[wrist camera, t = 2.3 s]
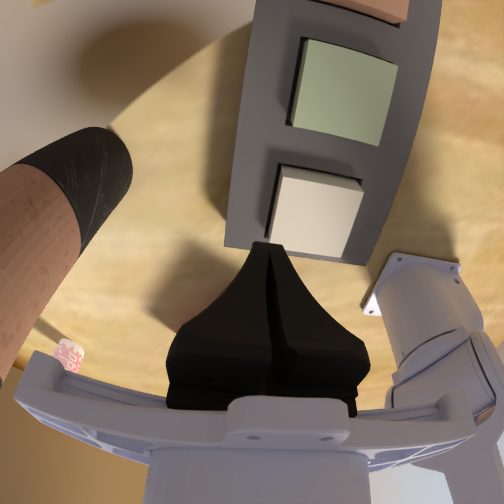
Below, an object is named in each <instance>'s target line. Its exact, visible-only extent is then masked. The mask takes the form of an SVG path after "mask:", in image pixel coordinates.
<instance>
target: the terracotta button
mask: <svg viewBox="0 0 504 504" xmlns="http://www.w3.org/2000/svg"><path fill="white" fill-rule="evenodd" d="M318 1H322V2H326V3H330V4H334V5H338V6H341V7H345V8H348V9H352V10H355V11H358V12H361V13H364V14H367V15H370V16H373V17H376V18H378V19H381V20H384V21H386V22H389V23H391V24H394V23H398V22H403V21H406V20H407V13H408V6H409V0H318Z"/></svg>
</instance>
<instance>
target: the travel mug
mask: <svg viewBox="0 0 504 504" xmlns="http://www.w3.org/2000/svg"><path fill="white" fill-rule="evenodd" d="M132 174H133V167H132V161H131V157H130V154H129V152H128V150H127V148H126V146H125V145H124V143H123V142H122V141H121V140H120V138H119V137H117V136H116V135H115V134H114V133H112V132H111V131H109V130H107V129H104V128H100V127H88V128H84V129H81V130H79V131H76V132H74V133H72V134H69V135H67V136H65V137H63V138H61V139H59V140H57V141H55V142H53V143H51V144H49V145H47V146H45V147H43V148H41V149H39V150H37V151H35V152H34V153H32V154H30V155H28V156H26V157H25V158H23V159H21V160H19V161H18V162H16V163H14V164H13V165H11V166H10V167H8V168H6V169H5V170H3V171H2V172H1V173H0V388H1V386H2V383H3V382H4V380H5V378H6V376H7V374H8V371H9V369H10V367H11V366H12V364H13V362H14V360H15V358H16V356H17V354H18V352H19V350H20V349H21V347H22V345H23V343H24V341H25V340H26V338H27V336H28V334H29V333H30V331H31V329H32V327H33V326H34V324H35V322H36V321H37V319H38V318H39V316H40V314H41V313H42V311H43V310H44V308H45V306H46V305H47V303H48V302H49V300H50V299H51V297H52V296H53V294H54V293H55V291H56V290H57V288H58V287H59V285H60V284H61V282H62V281H63V279H64V278H65V277H66V275H67V274H68V272H69V271H70V270H71V268H72V267H73V265H74V264H75V263H76V261H77V260H78V258H79V257H80V255H81V254H82V252H83V251H84V249H85V248H86V247H87V245H88V244H89V242H90V241H91V240H92V238H93V237H94V235H95V234H96V233H97V231H98V230H99V228H100V227H101V226H102V224H103V223H104V222H105V220H106V219H107V218H108V216H109V215H110V214H111V213H112V211H113V210H114V209H115V207H116V206H117V205H118V204H119V202H120V201H121V200H122V198H123V197H124V196H125V194H126V193H127V191H128V189H129V187H130V184H131V181H132Z"/></svg>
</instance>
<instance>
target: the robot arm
mask: <svg viewBox="0 0 504 504" xmlns="http://www.w3.org/2000/svg"><path fill="white" fill-rule="evenodd" d="M400 257H401V258H400ZM398 258H400V259H398ZM461 269H462V266H461V265H460V264H459V263H454V262H448V261H443V260H437V259H432V258H426V257H421V256H415V255H409V254H403V253H398V252H394V253H392V254H391V255H390V256H389V258H388V260H387V262H386V265H385V267H384V269H383V271H382V273H381V275H380V277H379V279H378V280H377V282H376V284H375V286H374V288H373V290H372V292H371V294H370V296H369V298H368V299H367V301H366V303H365V305H364V307H363V309H362V312H363V314H365V315H378V316H382V318H383V321H384V324H385V328H386V331H387V334H388V337H389V340H390V344H391V347H392V351H393V354H394V357H395V361H396V365H397V368H398V370H397V371H396V372H394V373H393V374H392V378H393V382H394V385H393V386H391V387H390V388H389V389H388V391H387V394H386V399H385V406H384V409H375V410H361V411H357V407H356V400H355V398H356V397H357V396H358V391H357V386H358V385H359V384H360V382H361V381H362V380H363V379H364V378H365V377H366V375H367V374H368V372H369V371H370V366H371V365H370V360H369V356H368V352H367V350H366V347H365V344H364V342H363V341H362V340H360V339H359V338H358V337H356V336H355V335H353V334H352V333H350V332H349V331H348V330H346V329H345V328H344V327H343V326H342V325H340V324H339V323H338V322H337V321H336V320H335V319H334V318H332V317H331V316H330V315H329V314H328V313H327V312H326V311H325V310H324V309H323V308H322V307H321V305H320V304H319V303H318V302H317V301H316V300H315V298H314V297H313V296H312V295H311V293H310V292H309V291H308V289H307V288H306V286H305V285H304V283H303V282H302V280H301V279H300V277H299V276H298V274H297V272H296V270H295V269H294V267H293V265H292V263H291V261H290V259H289V257H288V255H287V253H286V251H285V249H284V247H283V245H282V244H274V243H267V242H259V241H254V242H253V243H252V248H251V251H250V253H249V255H248V257H247V259H246V261H245V263H244V265H243V266H242V268H241V270H240V271H239V273H238V274H237V275H236V277H235V278H234V280H233V281H232V282H231V284H230V285H229V286H228V287H227V288H226V290H225V291H224V292H223V293H222V294H221V295H220V296H219V297H218V298H217V299H216V300H215V301H214V302H213V303H212V304H211V305H209V306H208V307H207V308H206V309H205V310H203V311H202V312H201V313H200V314H198V315H197V316H195V317H194V318H192V319H191V320H189V321H188V322H186V323H185V324H183V325H182V326H181V328H180V329H179V331H178V332H177V334H176V336H175V338H174V340H173V342H172V344H171V346H170V349H169V352H168V355H167V359H166V369H167V374H168V378H169V382H170V384H169V388H168V393H167V397H162V396H157V395H153V394H148V393H144V392H140V391H135V390H131V389H127V388H124V387H120V386H116V385H112V384H109V383H105V382H102V381H99V380H95V379H92V378H89V377H86V376H83V375H80V374H77V373H74V372H71V371H68V370H65V368H64V366H63V364H62V363H61V362H60V361H59V360H58V359H56V358H55V357H53V356H50V355H47V354H45V353H42V352H40V351H37V350H35V351H34V352H33V354H32V356H31V358H30V360H29V362H28V364H27V366H26V368H25V371H24V373H23V375H22V377H21V379H20V381H19V384H18V386H17V388H16V390H15V393H14V395H13V398H14V399H15V400H16V401H17V402H18V403H19V404H20V405H21V406H22V407H24V408H25V409H26V410H27V411H28V412H29V413H30V414H32V415H33V416H34V417H35V418H36V419H37V420H39V421H40V422H41V423H43V424H46V425H48V426H50V427H52V428H54V429H56V430H58V431H60V432H63V433H65V434H67V435H69V436H71V437H74V438H76V439H78V440H81V441H83V442H85V443H87V444H90V445H92V446H95V447H97V448H100V449H102V450H105V451H107V452H110V453H113V454H116V455H119V456H121V457H124V458H128V459H130V460H134V461H137V462H140V463H143V464H146V465H149V469H148V474H147V480H146V486H145V492H144V497H143V504H371V497H370V484H369V473H372V472H377V471H381V470H385V469H389V468H393V467H397V466H401V465H405V464H408V463H411V464H412V465H414V466H417V467H421V468H425V469H429V470H434V471H438V472H442V473H444V474H445V477H446V480H447V483H448V487H449V490H450V493H451V496H452V499H453V503H454V504H504V467H503V464H502V460H501V456H500V453H499V450H498V446H497V441H498V440H499V438H500V436H501V435H502V433H503V431H504V366H503V363H502V361H501V359H500V357H499V355H498V353H497V351H496V349H495V347H494V345H493V343H492V341H491V340H490V338H489V337H488V335H487V334H486V333H485V332H483V329H484V325H483V317H482V314H481V311H480V309H479V307H478V306H477V304H476V302H475V300H474V299H473V297H472V295H471V294H470V292H469V290H468V289H467V287H466V285H465V284H464V282H463V280H462V279H461V277H460V276H459V272H460V271H461ZM489 406H490V407H489ZM486 408H487V409H486ZM484 409H485V410H484ZM483 410H484V411H483ZM481 411H482V412H481ZM478 413H479V414H478ZM476 414H477V415H476ZM475 415H476V416H475ZM473 416H474V417H473Z"/></svg>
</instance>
